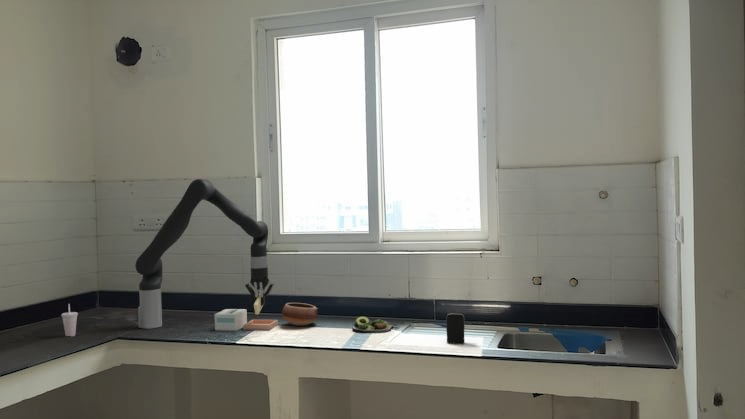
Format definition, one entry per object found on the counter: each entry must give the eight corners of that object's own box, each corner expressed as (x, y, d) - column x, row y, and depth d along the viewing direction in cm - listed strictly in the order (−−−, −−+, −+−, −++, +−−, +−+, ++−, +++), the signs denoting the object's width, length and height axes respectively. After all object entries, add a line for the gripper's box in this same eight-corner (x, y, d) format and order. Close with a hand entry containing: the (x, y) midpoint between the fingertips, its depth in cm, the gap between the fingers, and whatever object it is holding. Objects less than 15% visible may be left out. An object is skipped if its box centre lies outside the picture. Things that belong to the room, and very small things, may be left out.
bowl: (321, 327, 266) (321, 304, 266) (287, 330, 260) (286, 307, 260) (312, 320, 281) (311, 298, 280) (278, 323, 275) (278, 301, 274)
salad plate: (399, 324, 269) (398, 314, 269) (396, 334, 251) (396, 322, 251) (355, 324, 271) (355, 314, 271) (350, 334, 253) (350, 323, 253)
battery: (465, 341, 234) (464, 312, 234) (464, 344, 230) (464, 314, 230) (447, 341, 236) (446, 312, 235) (446, 343, 232) (445, 314, 232)
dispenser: (214, 330, 264) (214, 313, 264) (226, 324, 276) (225, 308, 276) (236, 330, 263) (236, 313, 262) (246, 324, 275) (246, 308, 274)
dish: (243, 329, 264) (243, 324, 264) (252, 324, 275) (252, 319, 275) (269, 330, 262) (269, 325, 262) (277, 324, 273) (277, 319, 273)
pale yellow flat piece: (253, 304, 262) (259, 293, 270) (255, 314, 264) (261, 302, 272) (256, 304, 261) (262, 293, 269) (258, 314, 264) (264, 302, 272)
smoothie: (60, 338, 257) (59, 305, 256) (64, 334, 263) (62, 302, 263) (77, 336, 259) (75, 304, 258) (80, 333, 265) (78, 301, 264)
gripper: (241, 267, 265) (242, 306, 265) (270, 267, 263) (272, 307, 263) (247, 265, 272) (249, 303, 273) (276, 265, 270) (277, 303, 271)
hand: (260, 305), depth 268 cm, fingers closed on pale yellow flat piece, 1 cm apart
